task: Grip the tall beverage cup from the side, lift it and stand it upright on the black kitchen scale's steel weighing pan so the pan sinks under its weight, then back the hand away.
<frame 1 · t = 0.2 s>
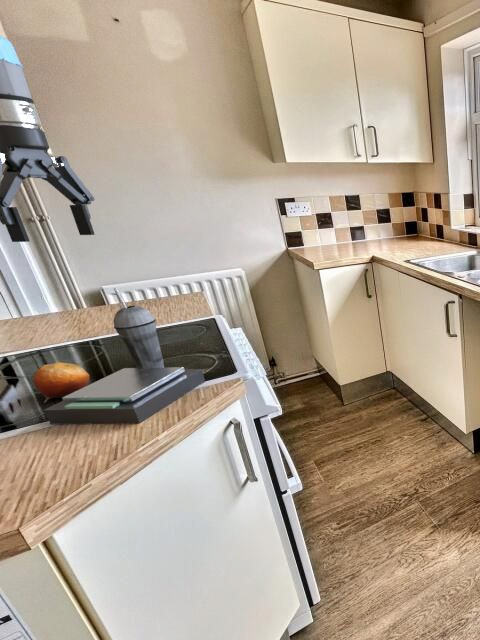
hand: (56, 238, 89), 31 cm above the worktop, tool pointing down, fingers open, 13 cm apart
scale pan: (127, 383, 83), point 4 cm above the worktop, slide at 0.0 cm
scale: (134, 400, 85), on the worktop
beverage cup: (152, 370, 99), on the worktop
fruit: (69, 394, 89), on the worktop
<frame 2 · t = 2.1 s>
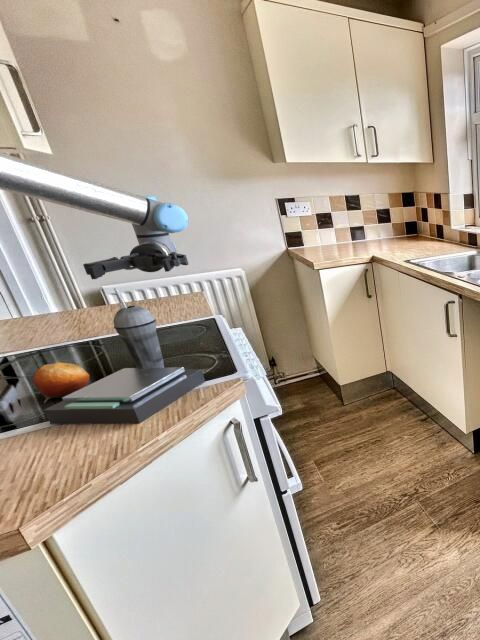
hand: (129, 269, 99), 22 cm above the worktop, tool horizontal, fingers open, 13 cm apart
nothing on the worktop moved.
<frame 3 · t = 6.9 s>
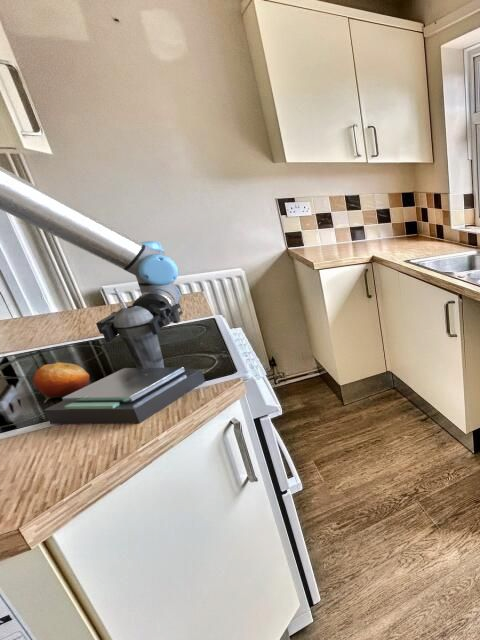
hand: (130, 332, 91), 11 cm above the worktop, tool horizontal, fingers closed on beverage cup, 7 cm apart
beverage cup: (152, 370, 99), on the worktop, touching gripper
everything else where it was.
when the fingers open (15 cm above the worktop, at t = 12.6 s): beverage cup stays where it is, resting on scale pan.
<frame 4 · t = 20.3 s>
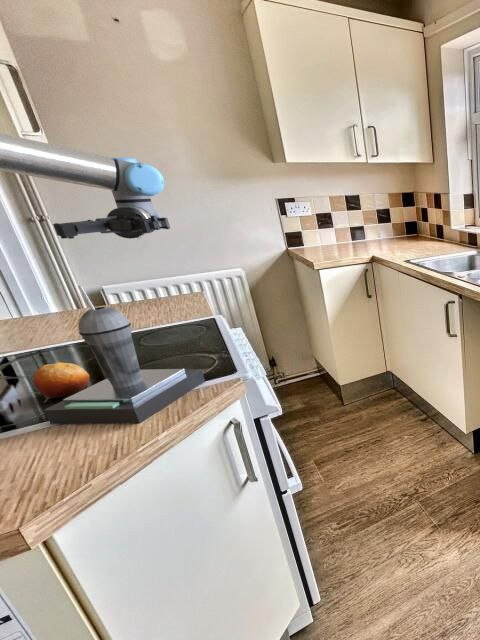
hand: (103, 229, 90), 32 cm above the worktop, tool horizontal, fingers open, 13 cm apart
scale pan: (128, 385, 84), point 3 cm above the worktop, slide at -0.4 cm, touching beverage cup, scale
beverage cup: (128, 384, 83), point 4 cm above the worktop, touching scale pan
everything else where it was.
at the end: beverage cup inside the target area on the scale (0.0 cm from its centre), point 3.8 cm above the scale's base; beverage cup tilted 0°; scale pan slide at -0.4 cm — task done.
